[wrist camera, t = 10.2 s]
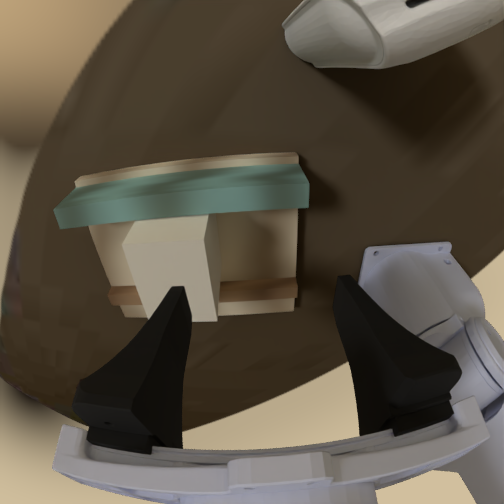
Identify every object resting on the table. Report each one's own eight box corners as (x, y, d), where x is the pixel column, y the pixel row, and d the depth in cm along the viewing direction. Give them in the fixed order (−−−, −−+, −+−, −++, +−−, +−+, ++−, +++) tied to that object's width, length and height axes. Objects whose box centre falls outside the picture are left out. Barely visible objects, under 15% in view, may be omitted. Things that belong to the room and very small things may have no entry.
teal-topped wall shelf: (296, 152, 19) (309, 174, 16) (292, 303, 27) (299, 341, 24) (80, 176, 19) (50, 202, 16) (128, 309, 27) (116, 345, 24)
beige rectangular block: (213, 191, 20) (203, 239, 15) (222, 268, 23) (218, 326, 19) (150, 196, 20) (121, 244, 15) (167, 270, 23) (151, 327, 18)
